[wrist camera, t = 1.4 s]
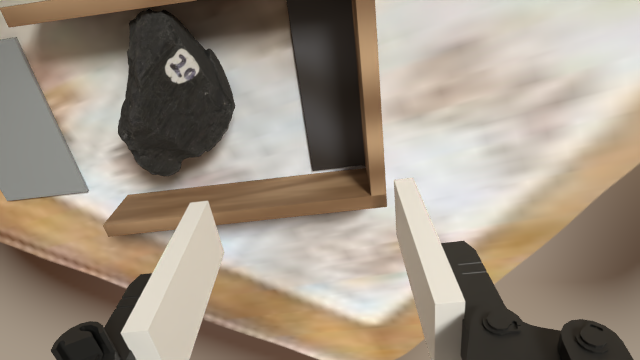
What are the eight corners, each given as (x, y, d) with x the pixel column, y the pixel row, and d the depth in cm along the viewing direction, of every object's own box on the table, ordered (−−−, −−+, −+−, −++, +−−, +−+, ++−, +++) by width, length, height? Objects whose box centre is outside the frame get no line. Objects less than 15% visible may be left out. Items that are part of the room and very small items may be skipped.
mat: (-79, 50, 32) (-82, 51, 32) (16, 37, 32) (14, 38, 31) (9, 199, 39) (7, 200, 38) (88, 190, 38) (87, 191, 38)
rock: (88, 171, 31) (135, 153, 24) (102, 40, 32) (150, -14, 25) (184, 182, 36) (247, 170, 29) (192, 69, 38) (253, 31, 31)
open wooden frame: (46, 0, 30) (-1, 7, 26) (364, -47, 29) (372, -48, 24) (132, 205, 39) (108, 236, 35) (379, 177, 38) (386, 206, 33)
